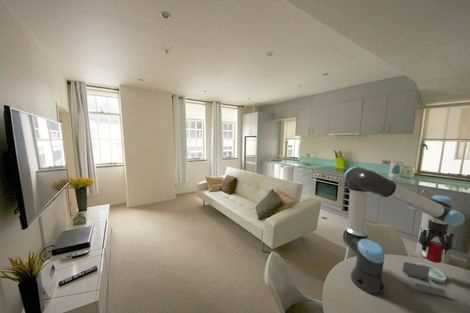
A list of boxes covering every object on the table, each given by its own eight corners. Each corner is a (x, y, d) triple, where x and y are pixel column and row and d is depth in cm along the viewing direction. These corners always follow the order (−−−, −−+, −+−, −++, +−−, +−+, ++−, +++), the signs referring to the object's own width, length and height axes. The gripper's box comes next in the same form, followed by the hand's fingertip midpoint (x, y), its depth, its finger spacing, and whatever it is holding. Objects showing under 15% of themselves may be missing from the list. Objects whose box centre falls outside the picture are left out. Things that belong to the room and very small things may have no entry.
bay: (415, 289, 94) (417, 276, 93) (401, 272, 106) (403, 260, 105) (444, 296, 90) (446, 283, 89) (426, 278, 102) (428, 265, 101)
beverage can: (444, 264, 100) (447, 246, 99) (430, 263, 102) (433, 244, 100) (433, 257, 107) (436, 239, 105) (420, 255, 108) (423, 237, 107)
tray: (423, 278, 101) (424, 276, 101) (409, 263, 114) (409, 260, 113) (452, 285, 97) (453, 282, 97) (434, 268, 110) (435, 265, 109)
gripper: (421, 221, 101) (416, 257, 104) (467, 227, 95) (460, 265, 98) (413, 216, 108) (408, 249, 111) (455, 221, 102) (448, 256, 105)
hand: (432, 256), depth 104 cm, fingers closed on beverage can, 7 cm apart
